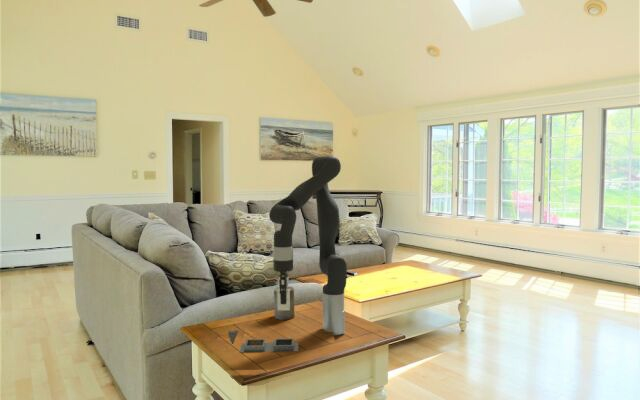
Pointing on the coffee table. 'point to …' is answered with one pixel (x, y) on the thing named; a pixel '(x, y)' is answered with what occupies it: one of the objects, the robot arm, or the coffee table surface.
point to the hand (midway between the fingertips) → (283, 301)
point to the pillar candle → (284, 313)
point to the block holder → (269, 345)
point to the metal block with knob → (287, 305)
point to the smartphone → (233, 335)
